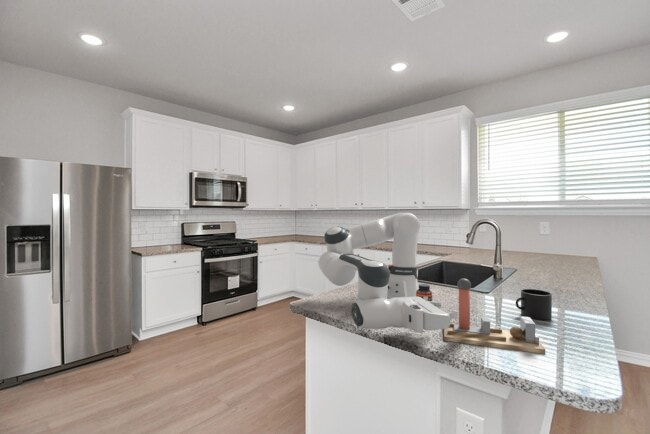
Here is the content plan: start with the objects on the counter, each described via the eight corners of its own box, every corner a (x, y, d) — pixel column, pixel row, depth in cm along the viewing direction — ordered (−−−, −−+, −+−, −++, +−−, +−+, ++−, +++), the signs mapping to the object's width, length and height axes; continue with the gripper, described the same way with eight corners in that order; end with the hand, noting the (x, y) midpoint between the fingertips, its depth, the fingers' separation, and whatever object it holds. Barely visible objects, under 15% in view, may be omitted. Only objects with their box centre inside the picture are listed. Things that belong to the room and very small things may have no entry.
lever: (454, 332, 96) (454, 279, 95) (453, 327, 100) (453, 276, 100) (490, 337, 92) (490, 281, 92) (487, 331, 97) (487, 278, 97)
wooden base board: (444, 340, 94) (444, 333, 94) (443, 326, 105) (443, 320, 105) (545, 353, 84) (545, 345, 84) (533, 336, 95) (533, 329, 95)
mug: (508, 311, 119) (508, 288, 119) (540, 312, 119) (541, 289, 118) (523, 320, 110) (523, 295, 110) (557, 320, 109) (558, 295, 109)
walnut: (511, 339, 91) (511, 328, 91) (508, 335, 94) (508, 324, 94) (524, 341, 90) (524, 329, 90) (521, 336, 93) (521, 325, 93)
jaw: (525, 342, 88) (525, 323, 88) (520, 335, 94) (520, 316, 94) (539, 344, 87) (539, 324, 87) (533, 336, 93) (533, 317, 93)
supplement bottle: (430, 317, 113) (430, 287, 113) (414, 315, 117) (414, 285, 116) (433, 313, 118) (433, 284, 118) (418, 310, 122) (418, 282, 121)
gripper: (393, 311, 104) (431, 309, 106) (420, 335, 84) (467, 331, 86) (393, 292, 104) (431, 291, 106) (420, 312, 84) (467, 309, 86)
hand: (447, 309), depth 96 cm, fingers open, 8 cm apart
